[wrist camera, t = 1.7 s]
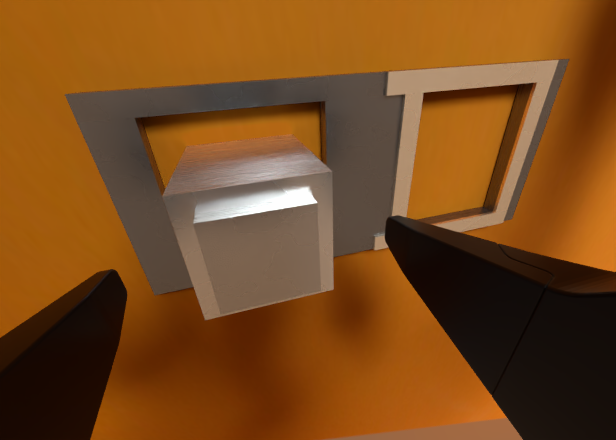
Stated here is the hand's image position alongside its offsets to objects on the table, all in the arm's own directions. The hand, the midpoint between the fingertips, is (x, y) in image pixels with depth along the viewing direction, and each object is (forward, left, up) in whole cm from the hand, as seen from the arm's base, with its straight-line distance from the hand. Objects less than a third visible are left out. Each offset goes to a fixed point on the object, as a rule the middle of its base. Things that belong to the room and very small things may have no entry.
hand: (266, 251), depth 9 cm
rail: (-6, 0, -6) cm, 8 cm away
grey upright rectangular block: (0, 0, -6) cm, 6 cm away
